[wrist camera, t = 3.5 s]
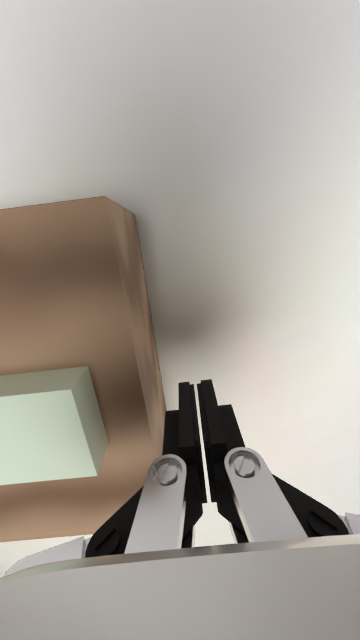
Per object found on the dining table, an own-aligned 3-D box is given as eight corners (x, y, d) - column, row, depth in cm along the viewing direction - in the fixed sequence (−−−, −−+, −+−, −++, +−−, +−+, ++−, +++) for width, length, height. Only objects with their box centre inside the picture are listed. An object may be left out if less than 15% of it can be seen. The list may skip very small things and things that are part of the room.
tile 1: (-8, 376, 12) (-43, 401, 10) (87, 366, 12) (70, 389, 10) (23, 451, 14) (-2, 485, 12) (108, 443, 14) (97, 476, 12)
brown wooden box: (-90, 242, 17) (-267, 243, 10) (134, 214, 16) (104, 196, 10) (7, 459, 23) (-63, 547, 16) (171, 442, 23) (168, 527, 16)
